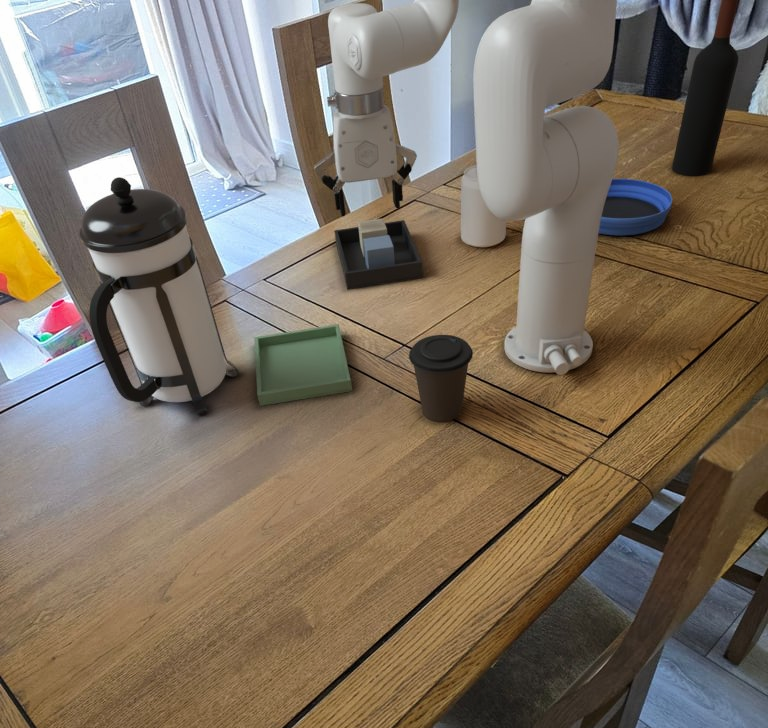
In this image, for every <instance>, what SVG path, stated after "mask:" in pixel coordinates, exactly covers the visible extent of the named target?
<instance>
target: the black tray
mask: <svg viewBox="0 0 768 728" xmlns="http://www.w3.org/2000/svg"><path fill="white" fill-rule="evenodd" d="M384 223H385V225H386V228H387V235H389V236H390V239H391V241H392V244H393V247H394V260H395V265H389V266H382V267H376V268H369V269H367V266H366V261H365V257H364V256H363V253H362V249H361V246H360V237H359V227H358V226H354V227H349V228H347V227H346V228H342V229H335V230H334V238H335V247H336V250H337V254H338V258H339V262H340V266H341V270H342V274H343V278H344V282H345V286H346V290H352V289H358V288H366V287H371V286H378V285H379V286H380V285H385V284H391V283H398V282H404V281H411V280H417V279H423V278H424V277H423V276H424V273H423V272H424V271H423V260H422V259H421V256H420V253H419V250H418V248H417V247H416V244H415V242H414V240H413V237H412V235H411V232H410V230H409V228H408V225H407V223H406V220H405V219H401V220H395V221H389V222H384Z"/></svg>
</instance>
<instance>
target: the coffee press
mask: <svg viewBox="0 0 768 728" xmlns="http://www.w3.org/2000/svg"><path fill="white" fill-rule="evenodd" d="M110 191H111V192H112V194H108V195H106V196H104V197H102V198H99V199H98V200H96V201H95V202H94V203H93V204H92V205H90V206H89V207H88V208H87V209H86V210H85V212H84V214H83V215H82V218H81V227H80V229H79V238H80V240H81V243H82V244H83V245H84V247H85V248H86V249H87V250H88V252H89V254H90V256H91V258H92V266H93V268H94V271H95V273H96V276H97V279H98V281H99V283H100V285H99V286H98V287H97V288H96V290H95V292H94V293H93V295H92V297H91V299H90V304H89V324H90V329H91V332H92V336H93V338H94V341H95V344H96V346H97V348H98V350H99V353H100V356H101V358H102V360H103V362H104V365H105V367H106V369H107V371H108V374H109V376H110V378H111V381H112V383H113V384H114V386H115V388H116V390H117V392H118V393H119V394H120V396H121V397H122V398H123V399H125V400H127V401H130V402H134V403H139V405H140V406H142V407H147V406H150V404H151V403H152V400H153V399H157V400H160V401H163V402H168V403H185V402H186V403H187V402H191V403H192V405H193V407H194V411H195V413H196V415H197V416H201V415H204V414H207V413H208V411H207V409H206V406H205V402H204V401H203V397H204V396H206V395H208V394H210V393H212V392H213V391H214V390H215V389H217V388H218V387H219V386H220V385H221V384H222V382H223V380H224V379H225V376H226V377H227V376H228V377H230V378H236V377H238V375H239V370H238V368H237V366H236V365H235V364H234V363H233V362H231V361H230V360H229V359H227V356H226V352H225V350H224V345H223V343H222V339H221V336H220V333H219V328H218V325H217V322H216V318H215V315H214V311H213V308H212V305H211V301H210V297H209V294H208V290H207V287H206V284H205V280H204V277H203V274H202V269H201V266H200V263H199V260H198V256H197V252H196V249H195V245H194V242H193V239H192V238H191V237H190V236H189V231H188V229H187V224H188V216H187V213H186V210H185V208H183V206H181V205H180V204H178V202H177V201H176V200H175V199H174V198H173V197H172V196H170V195H169V194H167V193H166V192H163V191H160V190H156V189H150V188H133V189H132V184H130V182H129V181H128V180H127V179H126V178H124V177H115V178H114V179H112V180H111V182H110ZM108 307H109V308H110V310H111V313H112V315H113V318H114V321H115V323H116V326H117V327H118V330H119V332H120V335H121V337H122V340H123V342H124V346H125V348H126V350H127V353H128V355H129V357H130V360H131V362H132V365H133V367H134V369H135V372H136V375H137V377H138V380H139V383H140V385H139V386H138V387H135V386H134V385H133V383H132V382H131V380H130V377H129V376H128V373H127V371H126V369H125V366H124V364H123V361H122V359H121V357H120V354H119V352H118V349H117V346H116V345H115V342H114V339H113V337H112V335H111V333H110V329H109V325H108V320H107V318H108V317H107V316H108V315H107V313H108ZM226 364H228V365H229V366H230V367H232V368H233V369H234V370H233V371H228V370H227V365H226Z"/></svg>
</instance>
